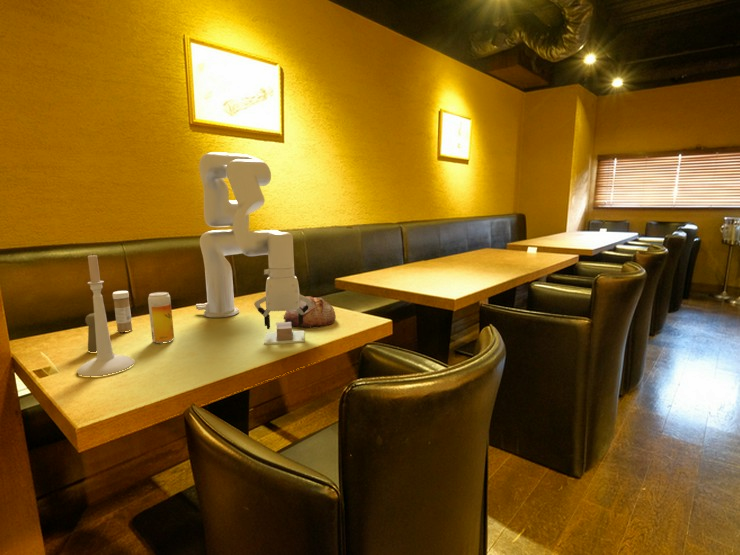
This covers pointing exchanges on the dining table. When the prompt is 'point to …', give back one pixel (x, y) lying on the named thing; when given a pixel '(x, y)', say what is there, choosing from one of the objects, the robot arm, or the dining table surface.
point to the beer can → (161, 317)
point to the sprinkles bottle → (122, 311)
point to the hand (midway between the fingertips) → (284, 327)
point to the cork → (91, 332)
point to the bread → (313, 314)
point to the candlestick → (102, 333)
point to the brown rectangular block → (284, 331)
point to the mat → (272, 339)
